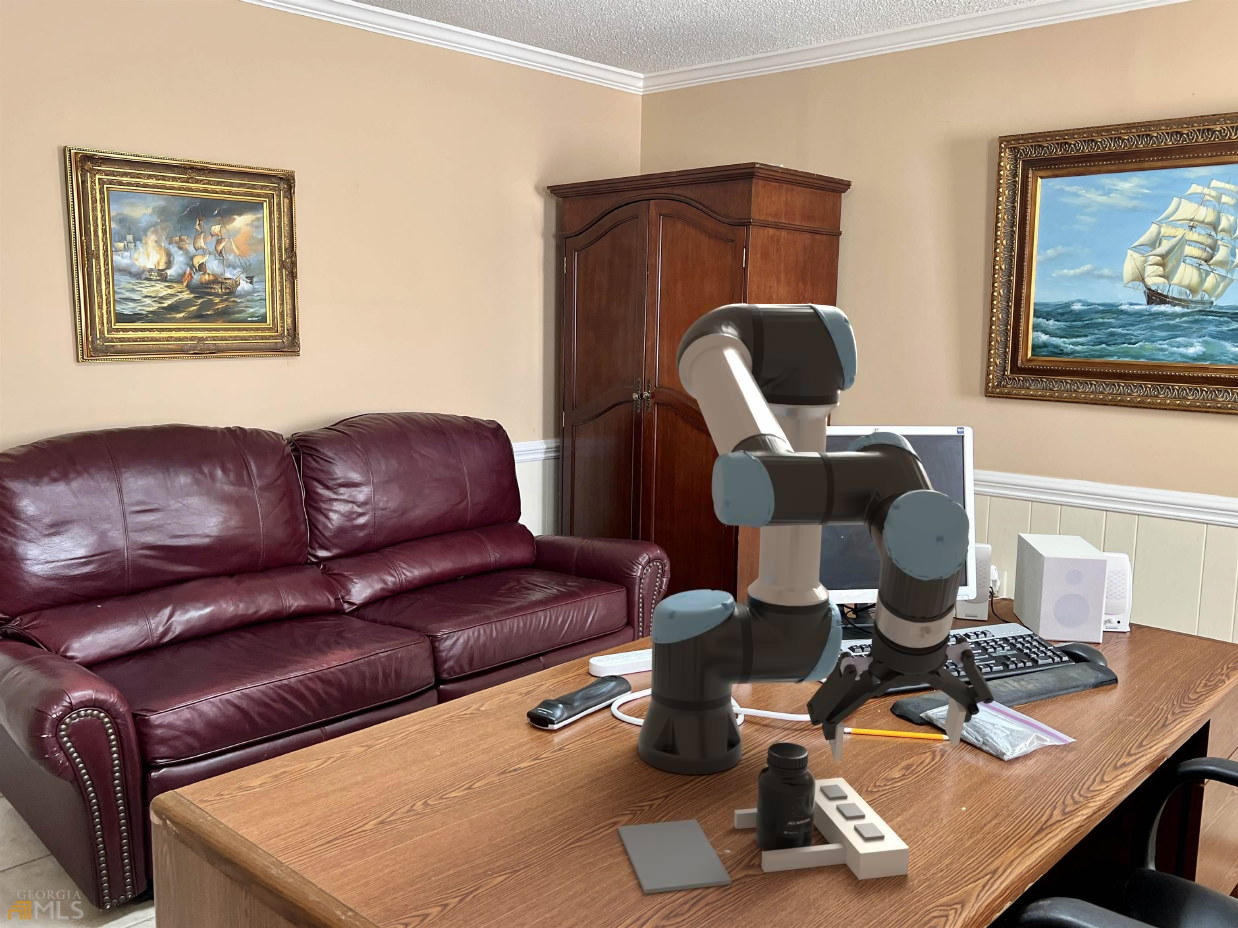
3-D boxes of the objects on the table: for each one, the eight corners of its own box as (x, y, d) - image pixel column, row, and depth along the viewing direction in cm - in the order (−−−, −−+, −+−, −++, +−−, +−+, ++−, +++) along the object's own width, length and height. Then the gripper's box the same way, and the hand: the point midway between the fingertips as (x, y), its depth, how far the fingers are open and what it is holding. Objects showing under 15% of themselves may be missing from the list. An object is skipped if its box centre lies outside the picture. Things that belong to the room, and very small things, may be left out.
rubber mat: (618, 830, 124) (618, 826, 124) (695, 822, 126) (696, 818, 126) (644, 893, 110) (644, 889, 110) (731, 883, 112) (731, 879, 112)
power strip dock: (725, 811, 129) (725, 785, 128) (841, 800, 132) (842, 774, 131) (775, 889, 111) (776, 858, 111) (907, 873, 114) (909, 844, 114)
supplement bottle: (799, 865, 116) (803, 767, 114) (746, 848, 120) (749, 753, 118) (821, 839, 122) (825, 746, 120) (769, 824, 125) (772, 733, 124)
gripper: (799, 667, 99) (793, 785, 113) (1048, 636, 99) (1012, 757, 113) (783, 610, 105) (779, 729, 118) (1018, 581, 105) (987, 703, 119)
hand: (892, 743), depth 116 cm, fingers open, 13 cm apart
